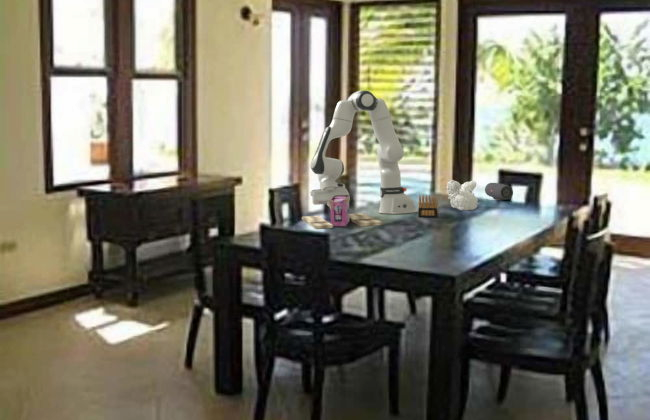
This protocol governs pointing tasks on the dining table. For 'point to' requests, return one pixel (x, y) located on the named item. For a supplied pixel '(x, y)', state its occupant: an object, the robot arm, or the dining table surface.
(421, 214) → the ammunition clip
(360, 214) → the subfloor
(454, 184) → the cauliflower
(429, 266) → the dining table surface
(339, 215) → the gum box
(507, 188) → the bluetooth speaker
